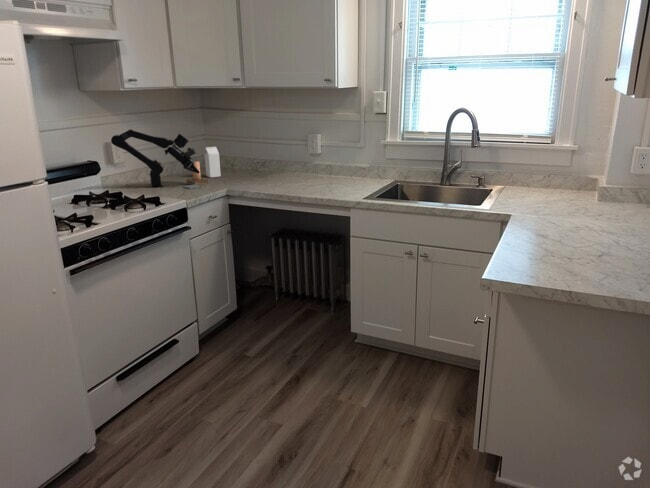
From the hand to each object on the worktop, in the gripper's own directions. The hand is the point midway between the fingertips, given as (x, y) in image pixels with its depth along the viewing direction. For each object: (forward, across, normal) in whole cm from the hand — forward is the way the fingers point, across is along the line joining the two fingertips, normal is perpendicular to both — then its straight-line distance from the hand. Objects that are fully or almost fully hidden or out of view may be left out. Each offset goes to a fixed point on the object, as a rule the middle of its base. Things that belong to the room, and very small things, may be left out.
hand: (198, 171), depth 298 cm
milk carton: (+13, +23, -2) cm, 26 cm away
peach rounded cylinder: (+4, 0, +6) cm, 7 cm away
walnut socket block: (+4, 0, +6) cm, 7 cm away
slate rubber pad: (+2, -11, +9) cm, 14 cm away
